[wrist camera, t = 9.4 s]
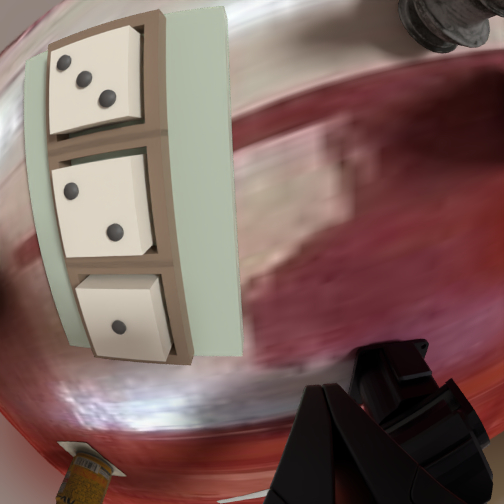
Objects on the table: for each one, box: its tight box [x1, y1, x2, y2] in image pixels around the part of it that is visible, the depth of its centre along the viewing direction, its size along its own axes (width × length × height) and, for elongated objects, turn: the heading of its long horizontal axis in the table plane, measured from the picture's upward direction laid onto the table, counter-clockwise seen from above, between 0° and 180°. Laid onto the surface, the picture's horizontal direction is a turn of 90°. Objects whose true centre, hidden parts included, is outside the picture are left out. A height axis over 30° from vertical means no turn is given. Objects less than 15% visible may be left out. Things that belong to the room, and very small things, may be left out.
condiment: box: [56, 441, 126, 504], centre depth 25 cm, size 7×8×12 cm
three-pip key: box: [49, 25, 145, 134], centre depth 13 cm, size 5×5×3 cm
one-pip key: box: [75, 274, 174, 362], centre depth 18 cm, size 5×5×3 cm
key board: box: [24, 6, 244, 365], centre depth 17 cm, size 22×14×3 cm, turn 2°
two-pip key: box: [52, 154, 156, 258], centre depth 15 cm, size 5×5×3 cm
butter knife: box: [217, 489, 269, 503], centre depth 34 cm, size 1×27×3 cm
